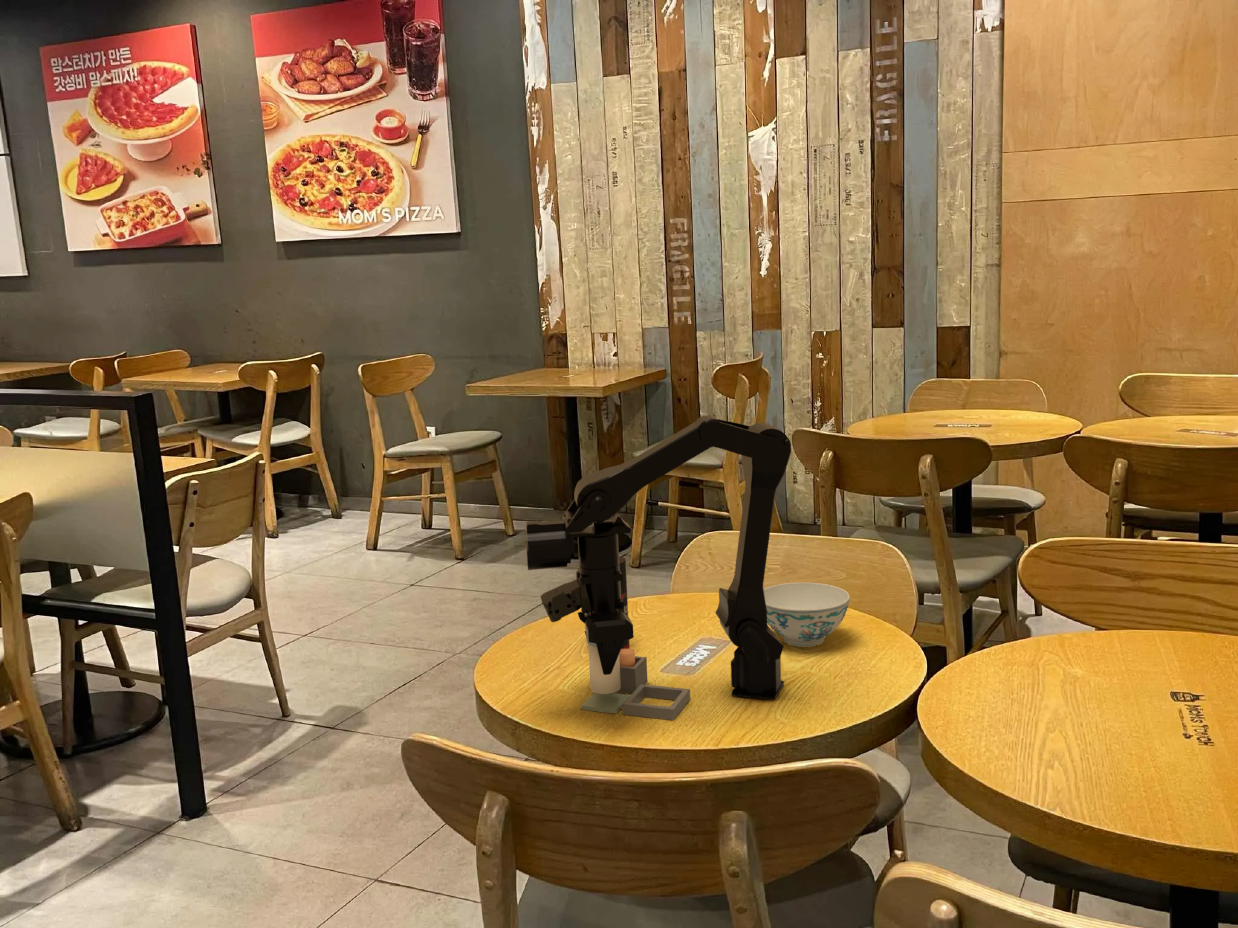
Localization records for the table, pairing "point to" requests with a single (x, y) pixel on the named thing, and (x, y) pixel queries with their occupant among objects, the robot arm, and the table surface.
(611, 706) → the coaster
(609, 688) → the cylinder
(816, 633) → the chinaware
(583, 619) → the robot arm
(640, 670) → the box
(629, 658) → the button
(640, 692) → the socket
